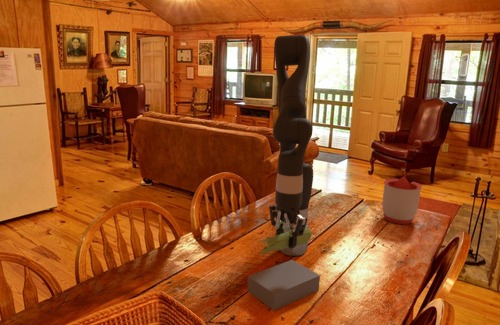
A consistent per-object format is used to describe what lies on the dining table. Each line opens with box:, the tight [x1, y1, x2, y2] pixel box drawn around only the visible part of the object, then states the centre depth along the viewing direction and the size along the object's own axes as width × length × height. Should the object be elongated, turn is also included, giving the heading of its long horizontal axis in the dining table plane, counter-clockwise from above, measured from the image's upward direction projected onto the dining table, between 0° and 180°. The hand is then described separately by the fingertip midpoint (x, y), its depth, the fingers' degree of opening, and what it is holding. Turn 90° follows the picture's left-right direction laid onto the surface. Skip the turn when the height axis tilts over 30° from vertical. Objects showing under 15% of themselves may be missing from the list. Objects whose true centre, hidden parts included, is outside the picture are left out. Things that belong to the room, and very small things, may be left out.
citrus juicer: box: [382, 176, 423, 225], centre depth 180 cm, size 16×17×20 cm
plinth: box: [247, 259, 321, 311], centre depth 121 cm, size 18×12×5 cm, turn 128°
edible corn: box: [259, 228, 313, 255], centre depth 118 cm, size 5×20×5 cm
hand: (285, 244), depth 118 cm, fingers closed on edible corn, 4 cm apart
